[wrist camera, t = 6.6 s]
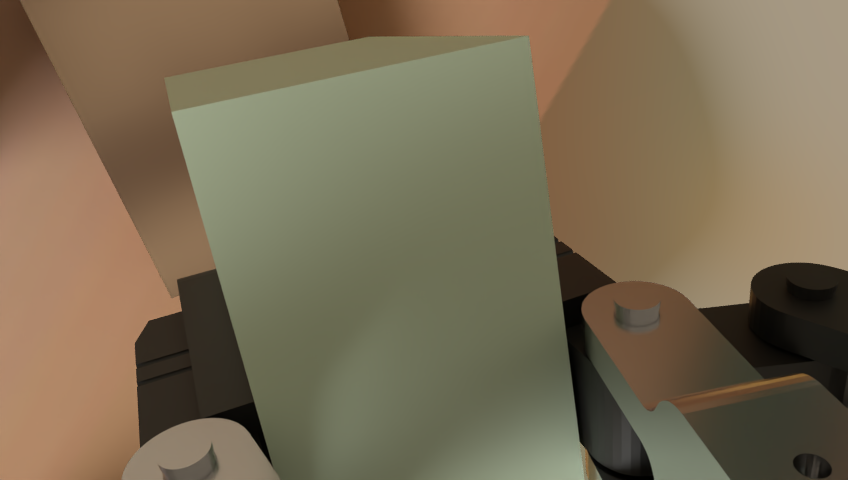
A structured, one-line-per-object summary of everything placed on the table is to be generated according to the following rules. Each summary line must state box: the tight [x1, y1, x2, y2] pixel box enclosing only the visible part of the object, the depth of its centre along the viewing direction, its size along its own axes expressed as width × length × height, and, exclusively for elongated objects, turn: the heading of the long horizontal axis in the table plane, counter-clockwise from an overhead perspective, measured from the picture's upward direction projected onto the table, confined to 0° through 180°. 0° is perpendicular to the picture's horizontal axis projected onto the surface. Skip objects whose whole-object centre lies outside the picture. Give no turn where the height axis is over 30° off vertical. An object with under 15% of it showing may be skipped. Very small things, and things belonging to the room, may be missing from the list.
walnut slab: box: [20, 0, 349, 298], centre depth 23 cm, size 10×8×3 cm
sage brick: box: [164, 36, 584, 480], centre depth 11 cm, size 7×4×6 cm, turn 6°
